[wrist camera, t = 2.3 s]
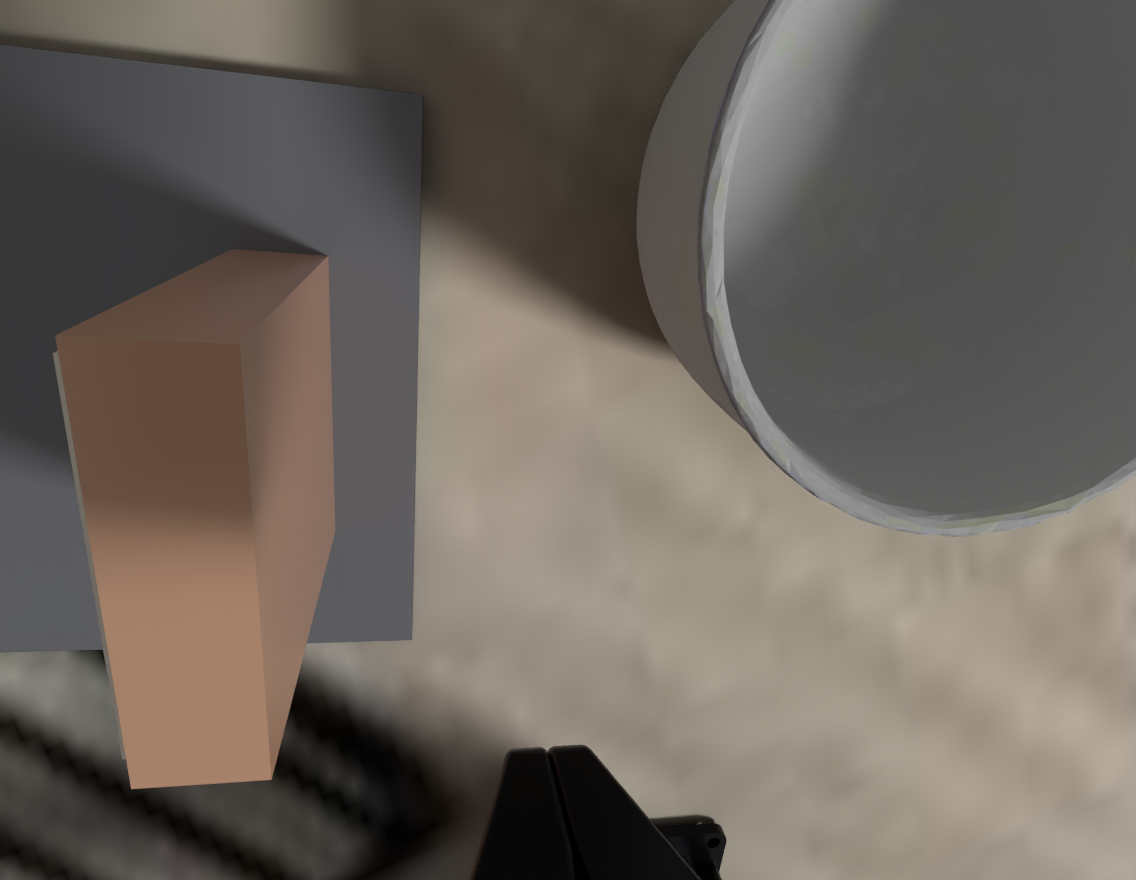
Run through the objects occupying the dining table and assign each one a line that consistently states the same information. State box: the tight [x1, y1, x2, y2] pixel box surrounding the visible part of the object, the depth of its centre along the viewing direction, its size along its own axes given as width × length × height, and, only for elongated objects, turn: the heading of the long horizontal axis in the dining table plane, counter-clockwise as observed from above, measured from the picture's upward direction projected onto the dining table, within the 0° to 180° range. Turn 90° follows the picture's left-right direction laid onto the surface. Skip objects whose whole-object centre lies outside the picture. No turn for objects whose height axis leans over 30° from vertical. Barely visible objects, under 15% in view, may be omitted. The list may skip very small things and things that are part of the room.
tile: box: [53, 249, 335, 789], centre depth 13 cm, size 2×7×8 cm, turn 174°
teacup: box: [636, 0, 1136, 537], centre depth 15 cm, size 14×11×8 cm
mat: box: [0, 45, 423, 653], centre depth 16 cm, size 16×14×1 cm
